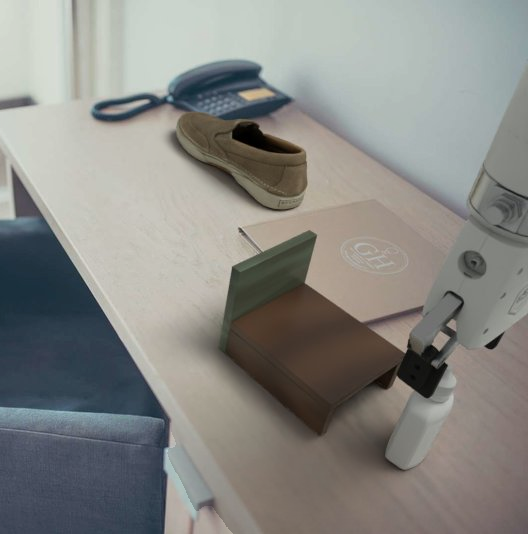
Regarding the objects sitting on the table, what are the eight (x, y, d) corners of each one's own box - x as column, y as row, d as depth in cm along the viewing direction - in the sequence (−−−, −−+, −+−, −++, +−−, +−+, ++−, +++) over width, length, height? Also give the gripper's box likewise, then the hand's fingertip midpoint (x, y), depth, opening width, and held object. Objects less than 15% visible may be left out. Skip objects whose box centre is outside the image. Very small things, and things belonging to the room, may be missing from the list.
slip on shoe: (164, 134, 116) (167, 87, 110) (217, 124, 120) (223, 78, 114) (257, 220, 95) (267, 166, 90) (318, 204, 99) (331, 152, 94)
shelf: (392, 385, 70) (427, 303, 63) (319, 437, 65) (348, 353, 57) (289, 308, 80) (309, 229, 72) (218, 347, 74) (231, 266, 67)
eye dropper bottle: (444, 462, 63) (491, 380, 55) (394, 474, 62) (435, 391, 54) (418, 427, 66) (459, 344, 59) (370, 437, 65) (405, 354, 57)
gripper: (516, 269, 39) (425, 438, 50) (639, 187, 47) (538, 347, 58) (411, 211, 44) (349, 377, 55) (539, 145, 52) (463, 301, 63)
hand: (446, 362), depth 57 cm, fingers open, 9 cm apart
